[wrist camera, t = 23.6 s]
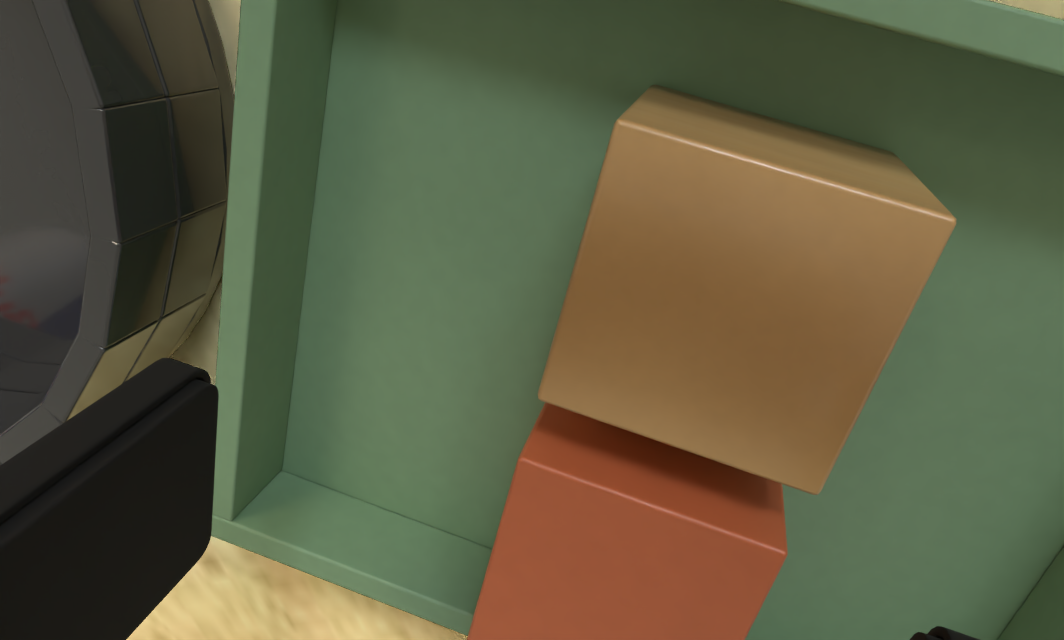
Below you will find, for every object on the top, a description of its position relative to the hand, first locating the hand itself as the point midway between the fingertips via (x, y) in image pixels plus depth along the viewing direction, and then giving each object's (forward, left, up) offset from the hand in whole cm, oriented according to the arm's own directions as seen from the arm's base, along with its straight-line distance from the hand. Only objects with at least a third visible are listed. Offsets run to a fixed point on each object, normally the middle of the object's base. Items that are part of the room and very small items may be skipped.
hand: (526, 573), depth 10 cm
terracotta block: (+1, +1, -5) cm, 6 cm away
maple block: (-4, +1, -5) cm, 7 cm away
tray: (-1, +1, -6) cm, 6 cm away
